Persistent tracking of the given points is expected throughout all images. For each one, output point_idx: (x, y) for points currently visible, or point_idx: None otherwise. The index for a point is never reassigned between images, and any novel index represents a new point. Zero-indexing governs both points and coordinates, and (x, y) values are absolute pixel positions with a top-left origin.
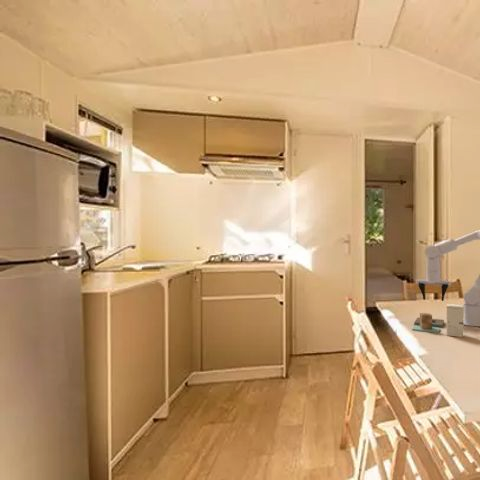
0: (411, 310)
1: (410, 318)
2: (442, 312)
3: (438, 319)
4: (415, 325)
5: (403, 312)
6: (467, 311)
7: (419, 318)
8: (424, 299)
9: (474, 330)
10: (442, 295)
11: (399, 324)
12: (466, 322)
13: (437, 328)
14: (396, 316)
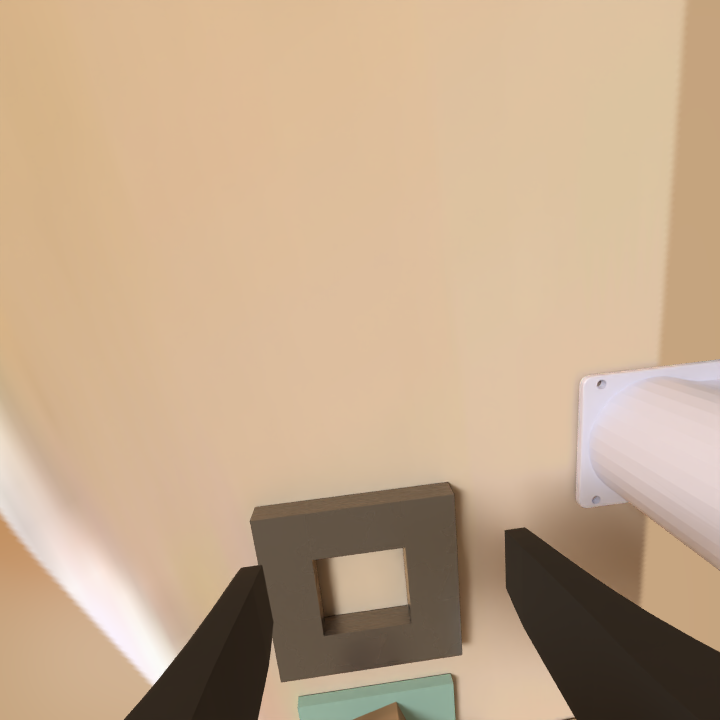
0: (34, 70)
1: (186, 482)
2: (369, 8)
3: (414, 506)
4: (304, 709)
5: (16, 248)
6: (707, 560)
7: (275, 550)
8: (266, 627)
9: (635, 593)
10: (575, 697)
11: None
12: (610, 487)
13: (441, 705)
14: (53, 470)
